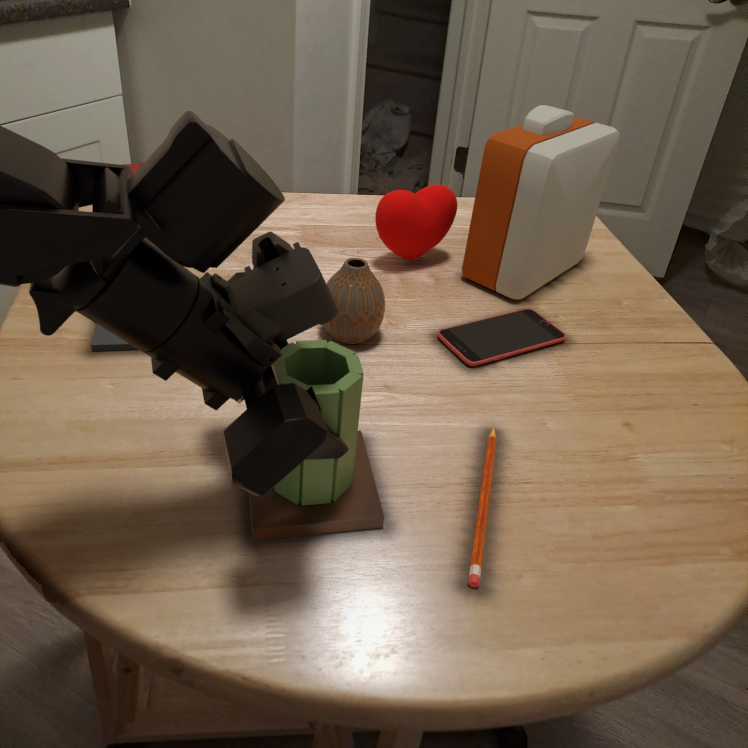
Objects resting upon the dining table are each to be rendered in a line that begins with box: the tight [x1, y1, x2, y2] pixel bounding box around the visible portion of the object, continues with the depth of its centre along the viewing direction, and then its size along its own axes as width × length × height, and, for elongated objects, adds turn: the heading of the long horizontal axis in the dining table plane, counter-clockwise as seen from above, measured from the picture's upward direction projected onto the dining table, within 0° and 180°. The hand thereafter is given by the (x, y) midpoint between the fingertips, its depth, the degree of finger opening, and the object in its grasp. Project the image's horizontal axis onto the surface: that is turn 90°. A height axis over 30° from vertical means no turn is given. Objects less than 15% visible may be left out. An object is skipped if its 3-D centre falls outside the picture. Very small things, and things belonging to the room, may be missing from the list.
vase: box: [323, 257, 386, 345], centre depth 70 cm, size 7×7×9 cm
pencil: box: [467, 427, 497, 589], centre depth 54 cm, size 1×18×1 cm, turn 167°
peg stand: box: [248, 430, 385, 541], centre depth 52 cm, size 10×10×6 cm
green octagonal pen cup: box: [273, 339, 365, 506], centre depth 50 cm, size 6×6×11 cm
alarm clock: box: [461, 104, 621, 300], centre depth 83 cm, size 18×9×21 cm, turn 139°
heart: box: [374, 184, 458, 262], centre depth 85 cm, size 12×5×10 cm, turn 121°
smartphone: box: [436, 308, 567, 367], centre depth 74 cm, size 7×1×14 cm
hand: (331, 422), depth 50 cm, fingers closed on green octagonal pen cup, 6 cm apart
